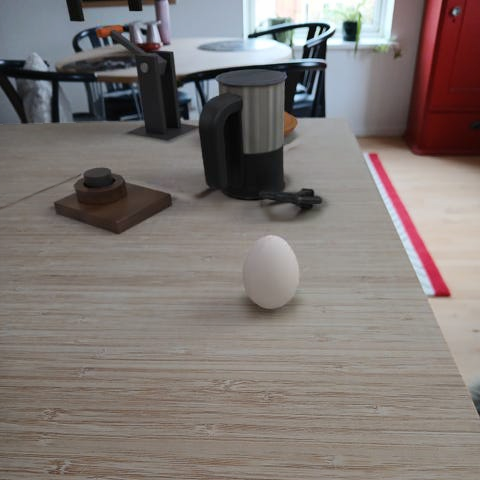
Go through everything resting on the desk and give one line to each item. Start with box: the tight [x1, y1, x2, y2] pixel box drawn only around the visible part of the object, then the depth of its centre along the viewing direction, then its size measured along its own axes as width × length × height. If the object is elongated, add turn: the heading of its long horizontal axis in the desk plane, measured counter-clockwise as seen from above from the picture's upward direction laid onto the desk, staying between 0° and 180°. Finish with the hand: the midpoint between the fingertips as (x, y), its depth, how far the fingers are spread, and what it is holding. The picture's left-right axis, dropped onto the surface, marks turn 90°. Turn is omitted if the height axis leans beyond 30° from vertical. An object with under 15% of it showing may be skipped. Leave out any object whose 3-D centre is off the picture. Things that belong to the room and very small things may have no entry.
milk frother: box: [198, 68, 323, 210], centre depth 66 cm, size 14×16×15 cm
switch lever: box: [96, 24, 167, 76], centre depth 89 cm, size 13×5×2 cm, turn 55°
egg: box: [242, 234, 300, 310], centre depth 48 cm, size 5×5×7 cm
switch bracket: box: [127, 49, 199, 142], centre depth 91 cm, size 10×9×14 cm
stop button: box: [83, 166, 113, 188], centre depth 68 cm, size 4×4×2 cm
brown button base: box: [53, 172, 173, 235], centre depth 68 cm, size 12×10×4 cm
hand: (108, 16), depth 88 cm, fingers open, 13 cm apart
